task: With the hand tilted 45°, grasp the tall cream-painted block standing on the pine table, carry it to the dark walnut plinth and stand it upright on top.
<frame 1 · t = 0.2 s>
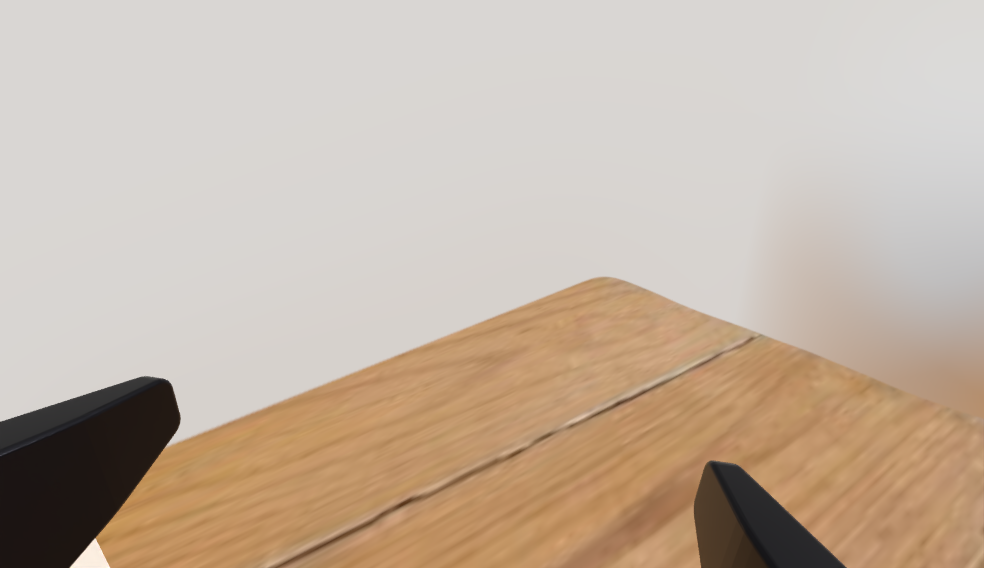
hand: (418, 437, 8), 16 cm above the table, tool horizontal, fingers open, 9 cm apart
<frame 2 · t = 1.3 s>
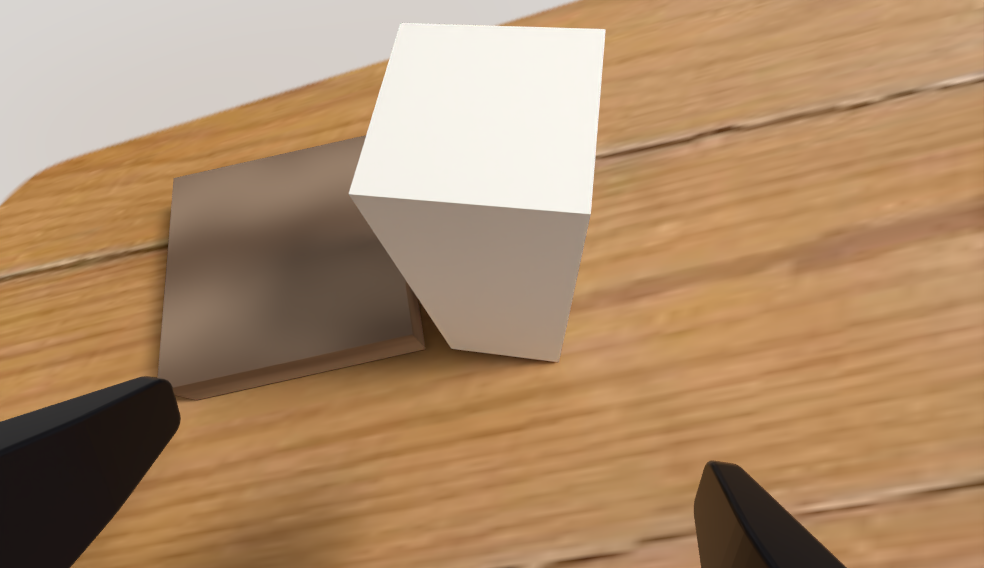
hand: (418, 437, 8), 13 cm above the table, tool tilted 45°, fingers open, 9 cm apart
cream block: (511, 304, 22), on the table
walnut plinth: (305, 270, 24), on the table
when the fingers open (10 cm above the table, at t = 5.9 s): cream block stays where it is, resting on walnut plinth.
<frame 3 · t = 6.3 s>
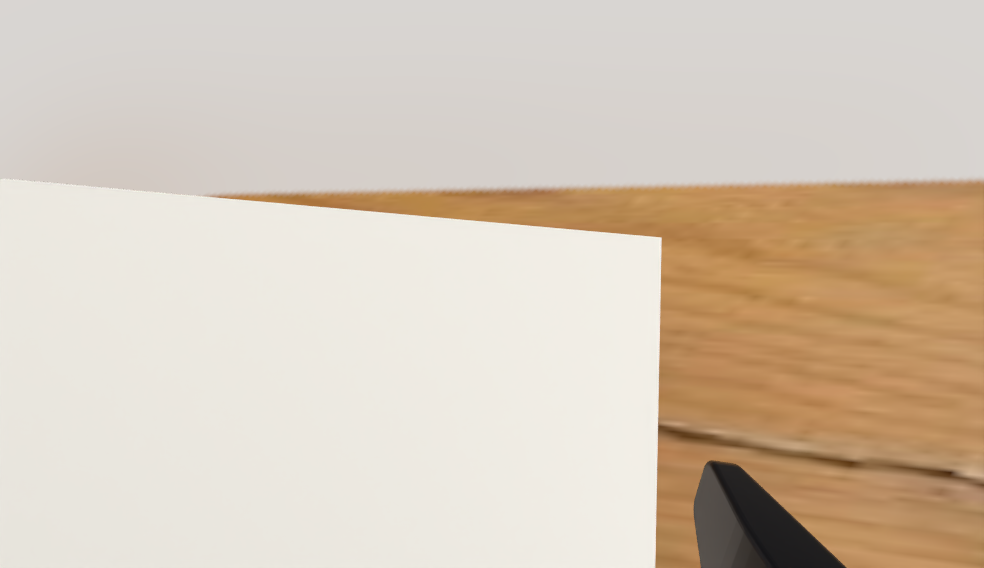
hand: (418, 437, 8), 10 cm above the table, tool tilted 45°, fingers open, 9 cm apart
cream block: (466, 503, 14), point 2 cm above the table, touching walnut plinth
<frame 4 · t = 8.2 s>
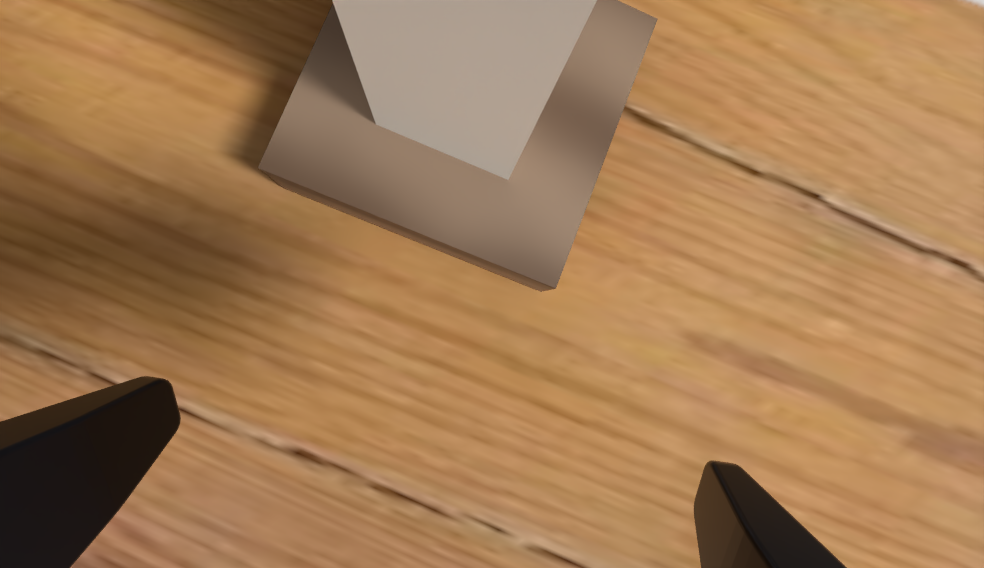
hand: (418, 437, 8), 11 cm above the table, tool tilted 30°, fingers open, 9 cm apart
cream block: (468, 89, 17), point 2 cm above the table, touching walnut plinth
walnut plinth: (465, 118, 19), on the table
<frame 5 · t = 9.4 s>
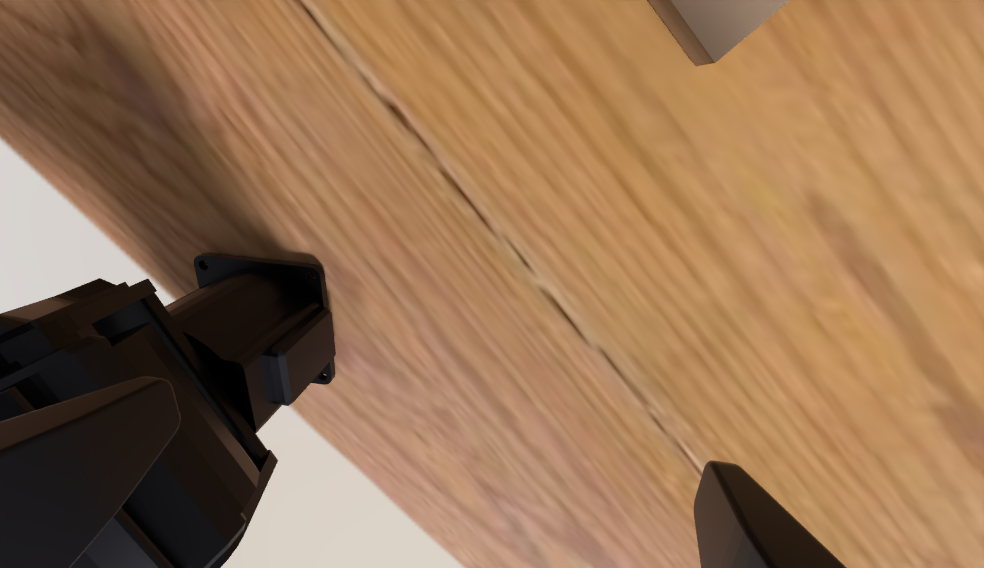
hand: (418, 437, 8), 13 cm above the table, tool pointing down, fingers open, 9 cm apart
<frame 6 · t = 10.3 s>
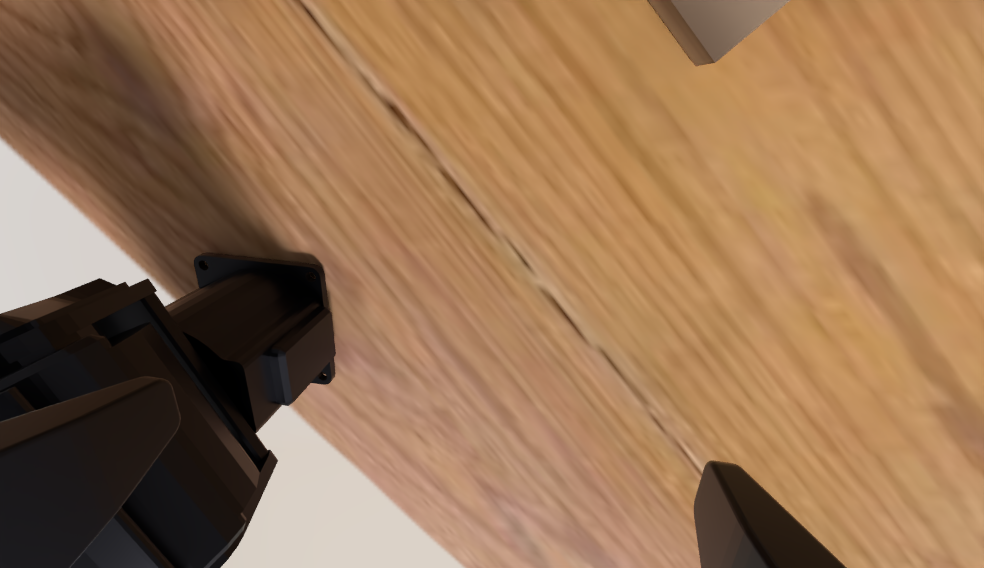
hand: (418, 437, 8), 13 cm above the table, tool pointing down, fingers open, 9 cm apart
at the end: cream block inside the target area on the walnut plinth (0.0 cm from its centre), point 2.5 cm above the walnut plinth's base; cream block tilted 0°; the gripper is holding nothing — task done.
